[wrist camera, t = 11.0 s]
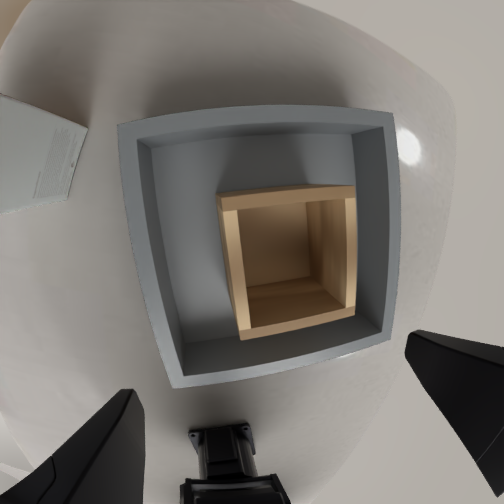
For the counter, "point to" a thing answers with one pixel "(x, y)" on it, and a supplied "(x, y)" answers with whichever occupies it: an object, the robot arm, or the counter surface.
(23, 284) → the counter surface
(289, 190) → the oak crate
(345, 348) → the slate gray crate
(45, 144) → the small box
